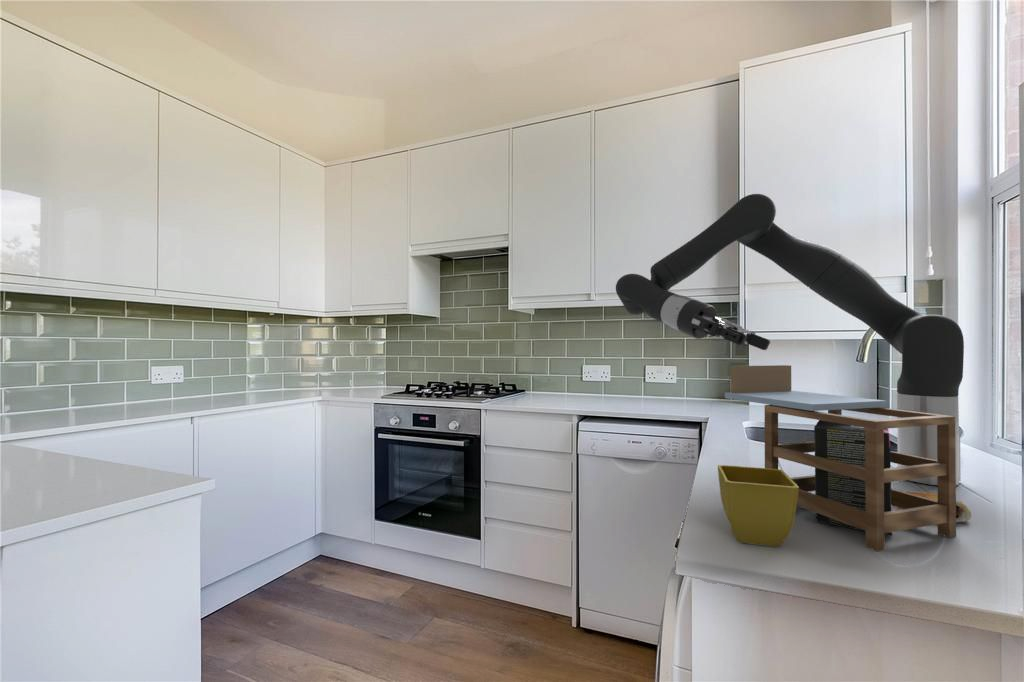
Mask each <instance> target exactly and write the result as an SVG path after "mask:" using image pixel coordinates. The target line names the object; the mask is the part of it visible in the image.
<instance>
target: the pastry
mask: <svg viewBox="0 0 1024 682" xmlns="http://www.w3.org/2000/svg"><path fill="white" fill-rule="evenodd" d="M906 492H907V493H910V494H914V495H918V496H921V497H925V498H929V499H932V500H936V501H938V492H937V493H936V492H929V491H919V492H918V491H910V490H909V491H906ZM971 518H972V513H971V510H970V509H969V507H968V506H967V505H966V504H965V503H964V502H963V501H962V500H958V501H957V500H956V522H963V523H966V522H968V521H970V520H971Z"/></svg>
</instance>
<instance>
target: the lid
mask: <svg viewBox="0 0 1024 682" xmlns="http://www.w3.org/2000/svg"><path fill="white" fill-rule="evenodd" d="M724 399H729V400H735V401H742V402H748V403H755V404H763V405H775V406H782V407H789V408H796V409H803V410H809V411H817V412H823V411H828V410H840V409H859V408H877V407H881V408H888V400H883V399H873V398H865V397H856V396H855V397H854V396H844V395H836V394H827V393H826V394H825V393H816V392H809V391H806V392H805V391H799V390H792V365H789V364H788V365H787V364H785V365H784V364H782V365H781V364H780V365H779V364H778V365H777V364H776V365H773V364H772V365H770V364H768V365H731V366H730V392H724Z"/></svg>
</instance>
